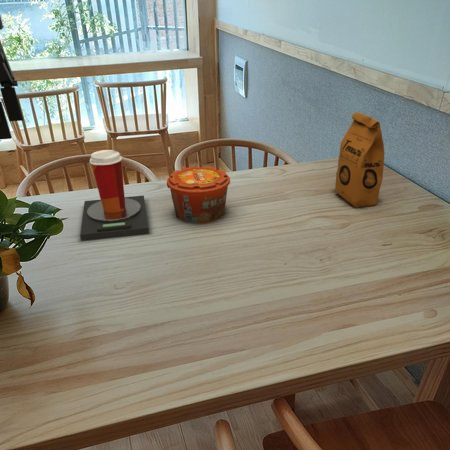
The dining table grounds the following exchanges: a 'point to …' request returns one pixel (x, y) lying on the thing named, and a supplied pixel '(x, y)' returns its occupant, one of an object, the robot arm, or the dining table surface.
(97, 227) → the scale
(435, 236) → the dining table surface
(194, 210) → the food container
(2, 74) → the robot arm
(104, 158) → the paper cup
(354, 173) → the coffee package
